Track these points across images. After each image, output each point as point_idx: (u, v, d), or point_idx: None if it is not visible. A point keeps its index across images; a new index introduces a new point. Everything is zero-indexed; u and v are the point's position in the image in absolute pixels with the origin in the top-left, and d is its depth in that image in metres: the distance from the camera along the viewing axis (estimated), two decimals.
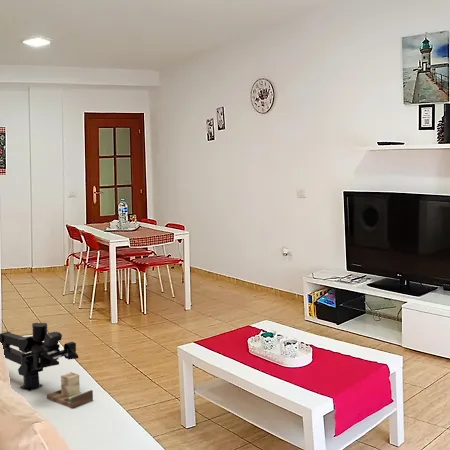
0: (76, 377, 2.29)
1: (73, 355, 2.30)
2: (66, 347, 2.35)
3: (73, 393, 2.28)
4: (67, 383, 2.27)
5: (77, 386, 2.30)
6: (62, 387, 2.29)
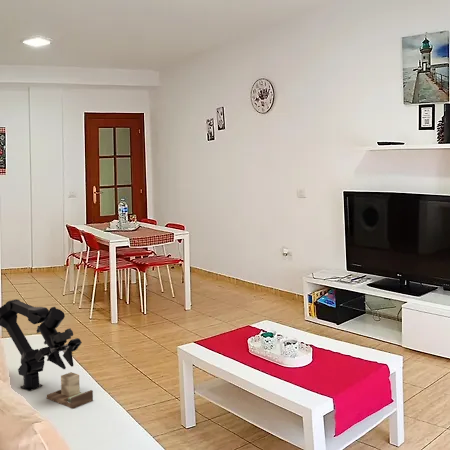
0: (76, 377, 2.29)
1: (69, 360, 2.27)
2: (71, 343, 2.32)
3: (73, 393, 2.28)
4: (67, 383, 2.27)
5: (77, 386, 2.30)
6: (62, 387, 2.29)
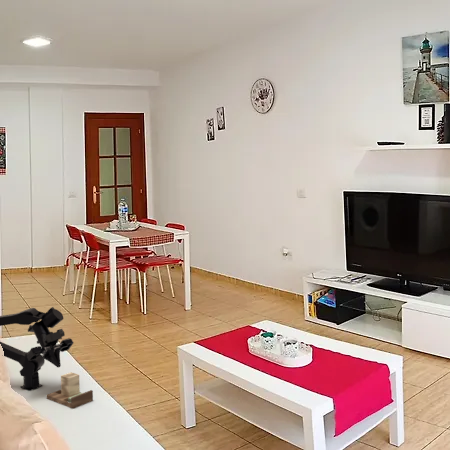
0: (76, 377, 2.29)
1: None
2: (63, 342, 2.39)
3: (73, 393, 2.28)
4: (67, 383, 2.27)
5: (77, 386, 2.30)
6: (62, 387, 2.29)
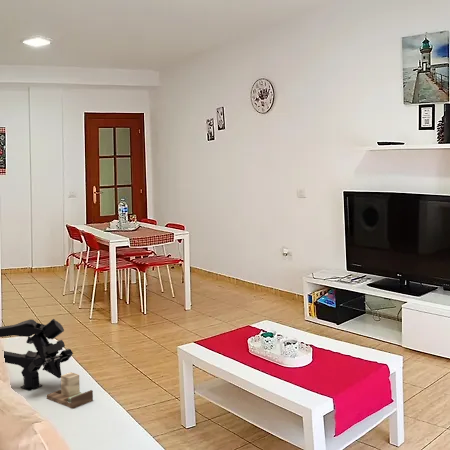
0: (76, 377, 2.29)
1: None
2: (63, 353, 2.41)
3: (73, 393, 2.28)
4: (67, 383, 2.27)
5: (77, 386, 2.30)
6: (62, 387, 2.29)
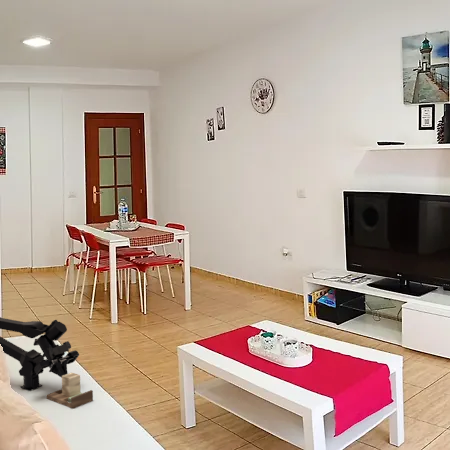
0: (77, 377, 2.29)
1: None
2: (69, 355, 2.39)
3: (74, 393, 2.28)
4: (68, 383, 2.26)
5: (78, 386, 2.29)
6: (63, 387, 2.29)
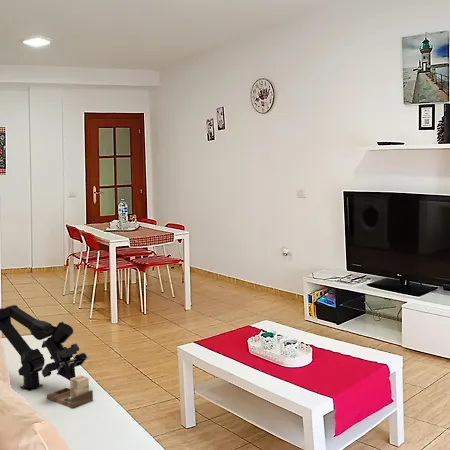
0: (85, 380, 2.26)
1: None
2: (77, 357, 2.35)
3: None
4: (76, 386, 2.23)
5: (86, 389, 2.26)
6: (71, 390, 2.26)
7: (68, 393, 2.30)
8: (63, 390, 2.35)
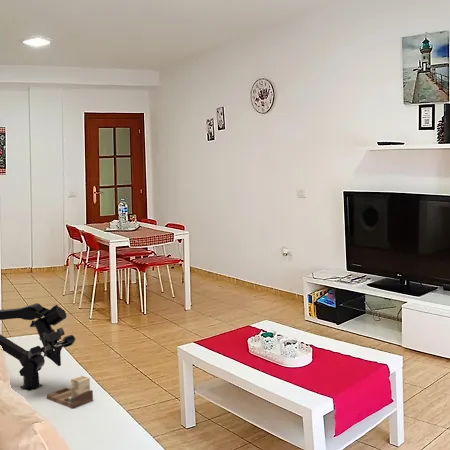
0: (86, 381, 2.25)
1: None
2: (65, 339, 2.38)
3: None
4: (77, 387, 2.23)
5: (87, 390, 2.26)
6: (72, 391, 2.25)
7: (68, 393, 2.30)
8: (63, 390, 2.35)
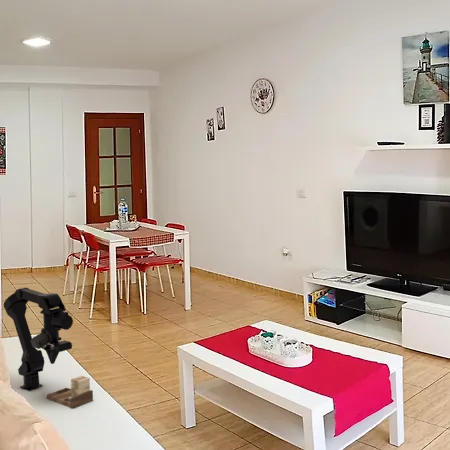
0: (86, 381, 2.25)
1: None
2: None
3: None
4: (77, 387, 2.23)
5: (87, 390, 2.26)
6: (72, 391, 2.25)
7: (68, 393, 2.30)
8: (63, 390, 2.35)
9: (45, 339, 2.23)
